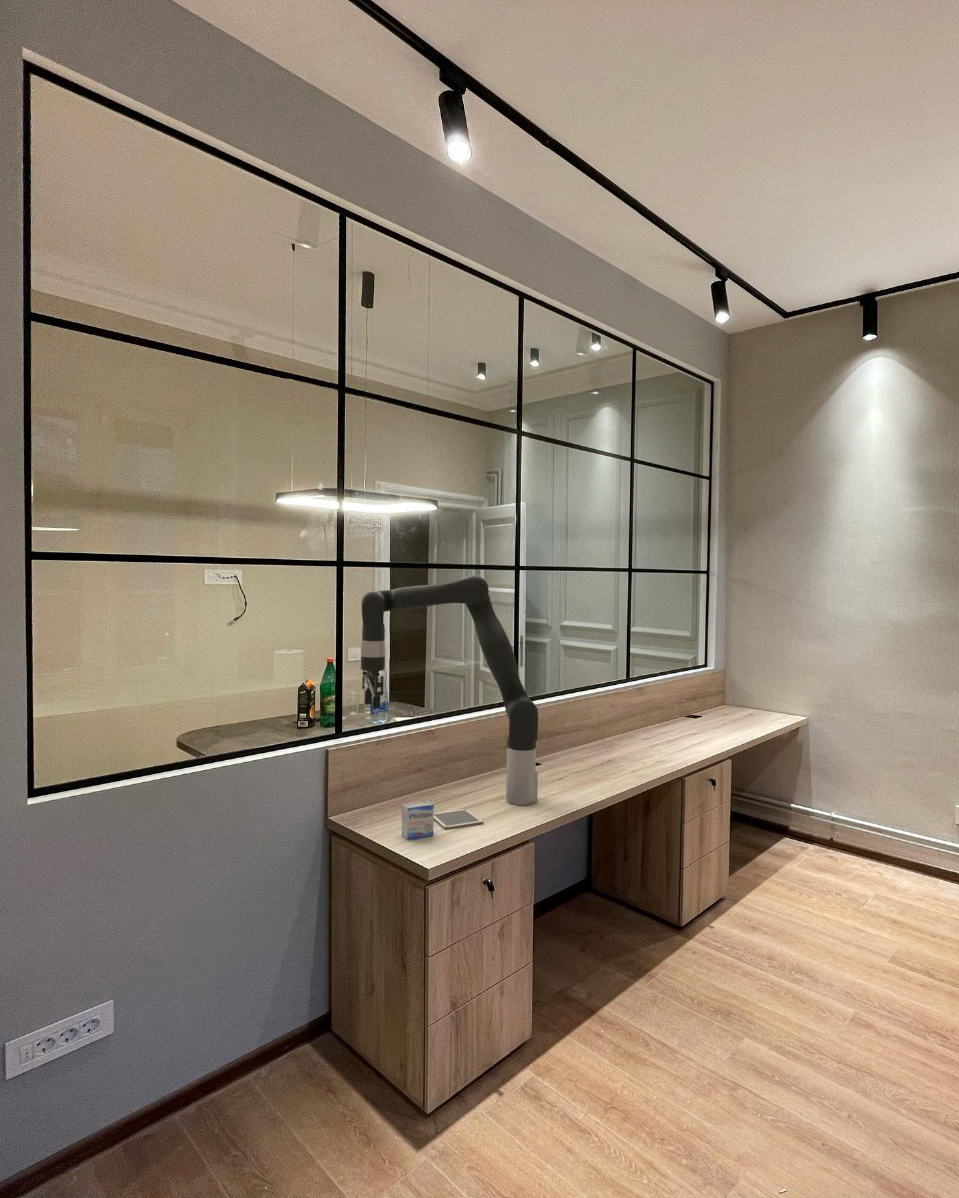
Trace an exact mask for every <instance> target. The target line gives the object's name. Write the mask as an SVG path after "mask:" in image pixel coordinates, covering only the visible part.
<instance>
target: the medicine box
mask: <svg viewBox="0 0 959 1198" xmlns="http://www.w3.org/2000/svg"><path fill="white" fill-rule="evenodd" d="M434 805H435V804H433V803H432V802H431V801H429V800H426V801H417V802H408V803H403V804H401V835H402V836H403V837H404V838H405V839H406V840H407V841H408V840H416V839H422V838H426V837H433V836H434V831H435V829H434V827H435V826H434V825H435V824H434V823H435V821H434V813H435V809H434V808H435V806H434Z"/></svg>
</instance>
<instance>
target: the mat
mask: <svg viewBox="0 0 959 1198" xmlns="http://www.w3.org/2000/svg"><path fill="white" fill-rule="evenodd" d="M434 822H436V823H437V825H439V827H441V828H442V829H443V830H444V831H445V830H451V829H458V828H465V827H471V826H477V825H483V824H484V821H483V820H482V819H481V818H480V817H478V816H476V815H475V814H474V813H473V812H471V811H470V810H468V808H460V809H455V810H447V811H443V812H442V811H440V812H434Z"/></svg>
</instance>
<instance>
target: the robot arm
mask: <svg viewBox="0 0 959 1198" xmlns="http://www.w3.org/2000/svg"><path fill="white" fill-rule="evenodd" d="M489 591H490V590H489V585H488V582H487V580H485V579H484V578H483V577H482V576H480V575H477V574H470V575H469V574H468V575H466V576H465V577H464V578H461V579H460V580H459V579H458V580H456V581H452V582H448V583H447V582H446V583H441V584H425V585H412V586H404V587H397V588H395V589H387V590H386V589H385V590H384V589H383V590H374V591H369V592H367V593H365V594H364V595H363V596H362V600H361V616H362V617H361V619H362V629H361V630H362V631H361V645H360V669H361V671H362V682H361V684H362V685H361V688H362V690H363V693H364V704H365V705H371V704H372V709H374V710H379V709H381V698H382V696H384V675H380V672H381V671H384V670H386V642H385V641H386V640H385V639H386V638H385V636H386V633H385V632H386V630H385V629H386V628H385V623H384V619H385V616H384V615H385V613H386V612H390V611H406V610H412V609H413V610H414V609H420V608H426V607H431V606H437V605H439V606H440V605H448V604H465V605H466V607H467V610H468V612H469V614H470V615H471V618H472V621H473V623H474V628H475V631H476V635H477V638H478V639H477V640H478V642H479V646H480V649H481V652H482V654H483V657H484V659H485V661H486V664H487V666H488V669H489V670H490V673H491V674H492V676H493V678H494V681H495V682H496V684H497V686H498V689H499V691H500V694H501V698H502V701H503V705H504V709H505V713H506V716H507V718H508V722H509V723H508V725H509V726H508V736H507V740H506V783H505V785H506V786H505V787H506V788H505V800H506V802H507V803H509V804H511V805H516V806H528V805H532V804H534V803H535V802H538V792H539V787H538V786H539V783H538V782H539V772H538V771H536V765H537V764H536V762H537V761H536V755H537V754H536V753H537V751H536V750H537V749H536V748H537V740H538V734H539V733H538V732H539V731H538V730H539V711H538V707H537V705H536V704H535V702H533V700H531V699H530V697H529V695H528V694H527V692H526V690H525V688H524V685H523V684H522V682H521V681H522V680H521V678H520V674H519V670H518V664H517V660H516V656H515V652H514V650H513V647H512V645H511V643H510V639H509V638H508V635H507V633H506V631H505V629H504V626H503V625H502V623H501V621H500V620H499V618H498V617H497V615H496V613H495V611H494V608H493V604H492V601H491V597H490V594H489Z"/></svg>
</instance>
